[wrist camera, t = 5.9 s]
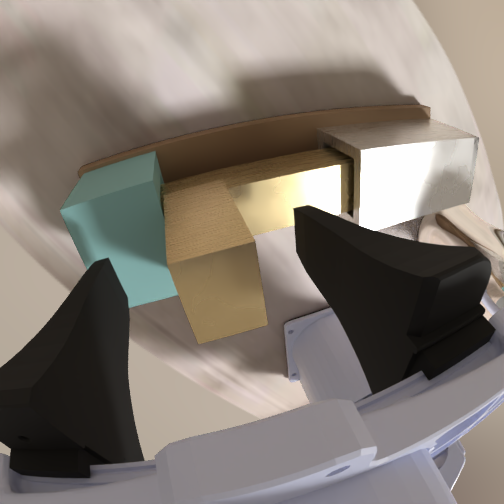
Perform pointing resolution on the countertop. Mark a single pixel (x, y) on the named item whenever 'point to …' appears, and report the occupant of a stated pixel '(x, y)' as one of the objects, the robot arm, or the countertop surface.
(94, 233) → the teal rectangular block
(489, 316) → the beer glass
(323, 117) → the board
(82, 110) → the countertop surface
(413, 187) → the white rectangular block
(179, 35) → the countertop surface
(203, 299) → the wooden l-shaped block
